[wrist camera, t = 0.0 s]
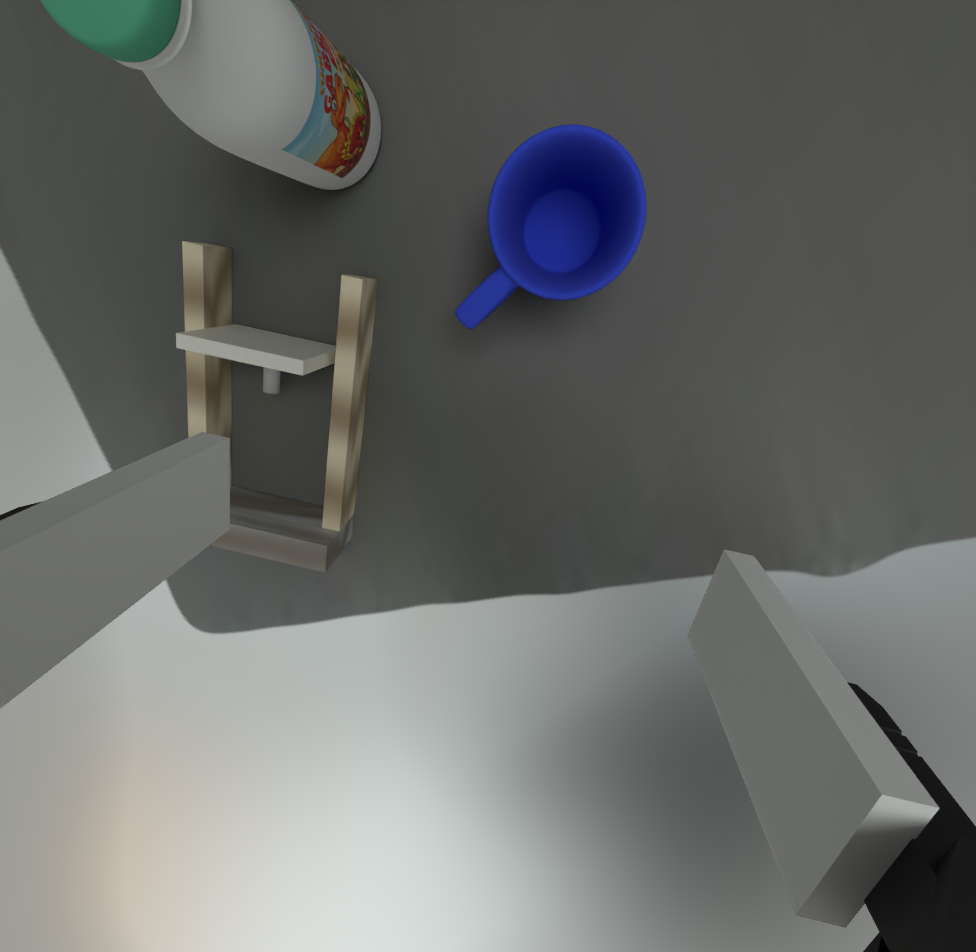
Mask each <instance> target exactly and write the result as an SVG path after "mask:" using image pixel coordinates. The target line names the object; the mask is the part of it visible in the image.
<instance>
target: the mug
mask: <svg viewBox="0 0 976 952" xmlns="http://www.w3.org/2000/svg"><path fill="white" fill-rule="evenodd" d="M645 219H646V195H645V188H644V184H643V180H642V177H641V174H640V172H639V169H638V167H637V165H636V163H635V161H634V160H633V158H632V157H631V155H630V154H629V153H628V151H627V150H626V149H625V148H624V147H623V146H622V145H621V144H620V143H619V142H618V141H617V140H615V139H614V138H613V137H611V136H610V135H608V134H606V133H604V132H603V131H600V130H598V129H595V128H592V127H588V126H582V125H562V126H557V127H553V128H549V129H546V130H544V131H542V132H539V133H537V134H536V135H534V136H532V137H531V138H529V139H528V140H526V141H525V142H524V143H522V144H521V145H520V146H519V147H518V148H517V149H516V150H515V151H514V152H513V153H512V154H511V155H510V157H509V158H508V159H507V160H506V162H505V163H504V165H503V166H502V168H501V170H500V172H499V174H498V176H497V178H496V180H495V182H494V185H493V188H492V191H491V195H490V200H489V206H488V230H489V236H490V241H491V245H492V248H493V250H494V253H495V255H496V257H497V259H498V261H499V263H500V266H499V268H498V269H497V270H496V271H495V272H493V273H492V274H491V275H490V276H489V277H488V278H487V279H485V280H484V281H483V282H482V283H481V284H480V285H479V286H478V287H477V288H476V289H475V290H474V291H473V292H472V293H471V294H470V295H469V296H468V297H467V298H466V299H465V300H464V301H463V302H462V303H461V304H460V305H459V306H458V307H457V309H456V311H455V313H456V316H457V318H458V319H459V321H460V322H461V323H462V324H463V325H464V326H465V327H467V328H468V329H473V328H474V327H476V326H477V325H478V324H479V323H480V322H482V321H483V320H484V319H485V318H486V317H487V316H488V315H490V314H491V313H492V312H493V311H494V310H495V309H496V308H497V307H498V306H499V305H500V304H501V303H502V302H503V301H504V300H505V299H506V298H507V297H508V296H509V295H510V294H511V293H512V292H513V291H514V290H515V289H516V288H517V287H518V286H520V287H522V288H523V289H525V290H526V291H528V292H530V293H532V294H534V295H537V296H540V297H543V298H547V299H553V300H570V299H577V298H581V297H584V296H587V295H590V294H592V293H594V292H596V291H598V290H600V289H602V288H603V287H605V286H606V285H608V284H609V283H610V282H611V281H613V280H614V279H615V278H616V277H617V276H618V275H619V274H620V273H621V272H622V271H623V269H624V268H625V267H626V266H627V264H628V263H629V262H630V260H631V258H632V257H633V255H634V253H635V251H636V249H637V247H638V245H639V243H640V240H641V237H642V233H643V230H644V225H645Z"/></svg>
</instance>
